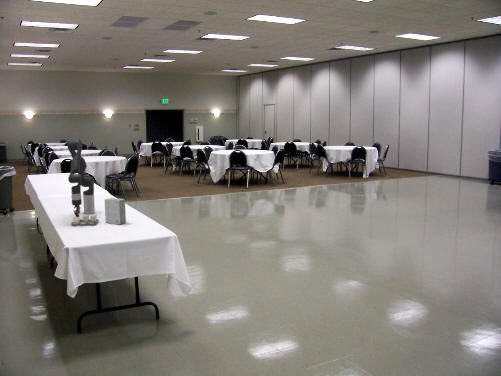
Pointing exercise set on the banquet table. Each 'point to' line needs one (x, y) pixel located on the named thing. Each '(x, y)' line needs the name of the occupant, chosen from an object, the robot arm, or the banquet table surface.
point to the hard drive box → (115, 211)
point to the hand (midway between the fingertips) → (77, 219)
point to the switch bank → (85, 223)
